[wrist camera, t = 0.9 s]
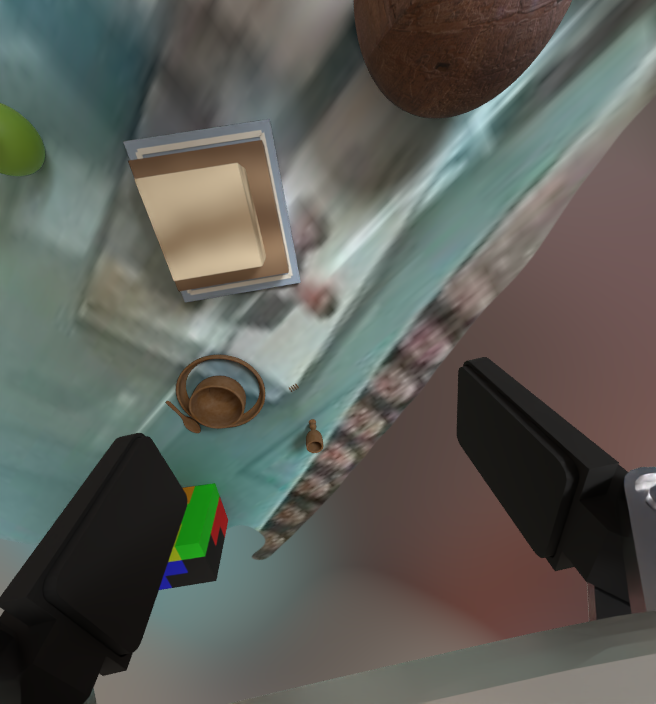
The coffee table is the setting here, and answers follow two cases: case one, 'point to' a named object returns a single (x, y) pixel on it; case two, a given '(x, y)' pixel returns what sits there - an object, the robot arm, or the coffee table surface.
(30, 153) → the snail figurine
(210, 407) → the place setting
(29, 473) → the coffee table surface
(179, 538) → the puzzle toy
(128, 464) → the robot arm
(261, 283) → the blueprint board
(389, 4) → the wooden sphere
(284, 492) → the coffee table surface
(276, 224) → the plinth
